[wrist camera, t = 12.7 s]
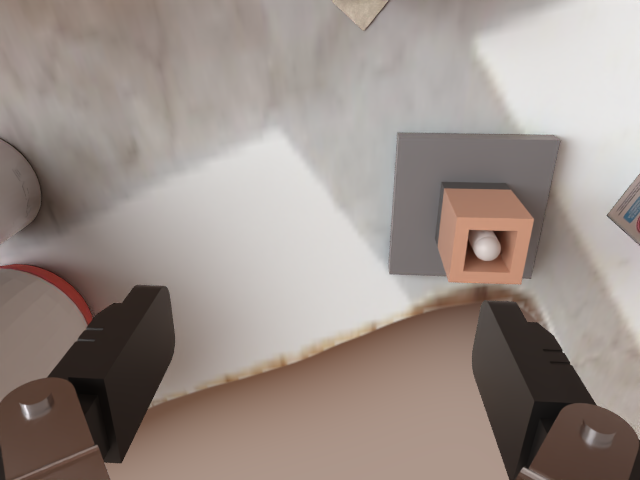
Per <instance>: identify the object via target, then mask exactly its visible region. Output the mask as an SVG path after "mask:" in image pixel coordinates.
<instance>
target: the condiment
mask: <svg viewBox="0 0 640 480" xmlns="http://www.w3.org/2000/svg"><path fill="white" fill-rule="evenodd" d="M332 2H333V3H334V4H335V5H336V6H337V7H339V8H340V9H341V10H342V11H343V12H344V13H345V14H346V15H347V16H348V17H349V18H350V19H351V20H352V21H353V22H354V23H355V24H357V25H358V26H359V27H360V28H361V29H362V30H363V31H364V30H365V29H366V27H367V26H368V25H369V24H370V23H371V21H372V20H373V19H374V18H375V16H376V15H377V14H378V13H379V12H380V10H381V9H382V8H383V7H384V5H385V4H386V3H387V2H388V0H332Z"/></svg>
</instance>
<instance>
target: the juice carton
mask: <svg viewBox="0 0 640 480" xmlns="http://www.w3.org/2000/svg"><path fill="white" fill-rule="evenodd" d="M607 217H609V218H610V219H611V220H612V221H613V222H614V223H615V224H616V225H618V226H619V227H620V228H621V229H622V230H623V231H624V232H625V233H626V234H628V235H629V236H630V237H631V238H632V239H633V240H634V241H635V242H636V243H638V244H639V245H640V174H639V175H638V177H637V178H636V179H635V180H634V182H633V183H632V184H631V185H630V187H629V188H628V189H627V190H626V192H625V193H624V194H623V196H622V197H621V198H620V199H619V201H618V202H617V203H616V204H615V206H614V207H613V208H612V209H611V211H610V212H609V213H608V214H607Z"/></svg>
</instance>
